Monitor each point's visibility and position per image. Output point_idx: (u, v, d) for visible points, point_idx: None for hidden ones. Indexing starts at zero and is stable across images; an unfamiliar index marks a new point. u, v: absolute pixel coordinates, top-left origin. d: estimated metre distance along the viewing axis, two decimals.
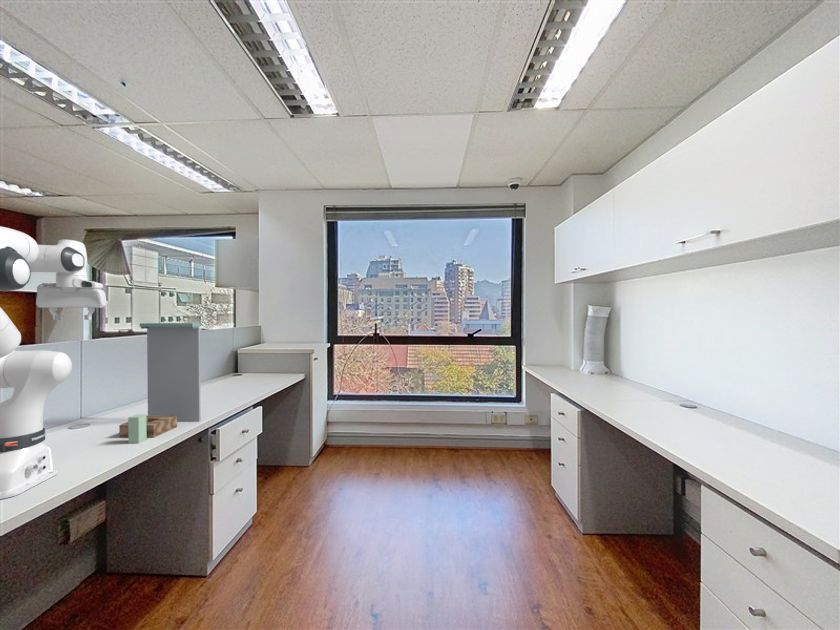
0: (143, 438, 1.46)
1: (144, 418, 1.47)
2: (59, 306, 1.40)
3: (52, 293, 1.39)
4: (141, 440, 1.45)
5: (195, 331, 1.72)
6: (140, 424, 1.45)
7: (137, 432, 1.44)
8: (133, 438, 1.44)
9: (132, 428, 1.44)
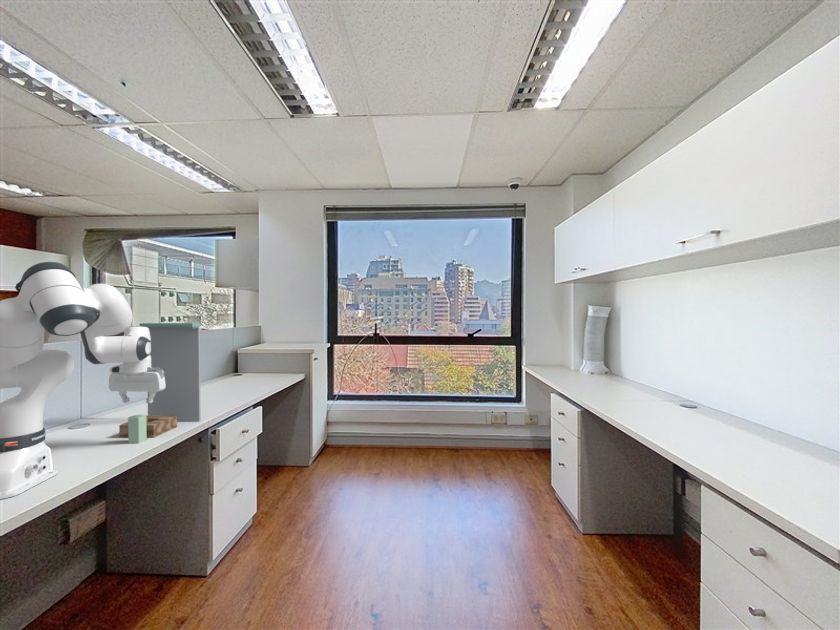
0: (143, 438, 1.46)
1: (144, 418, 1.47)
2: None
3: None
4: (141, 440, 1.45)
5: (195, 331, 1.72)
6: (140, 424, 1.45)
7: (137, 432, 1.44)
8: (133, 438, 1.44)
9: (132, 428, 1.44)
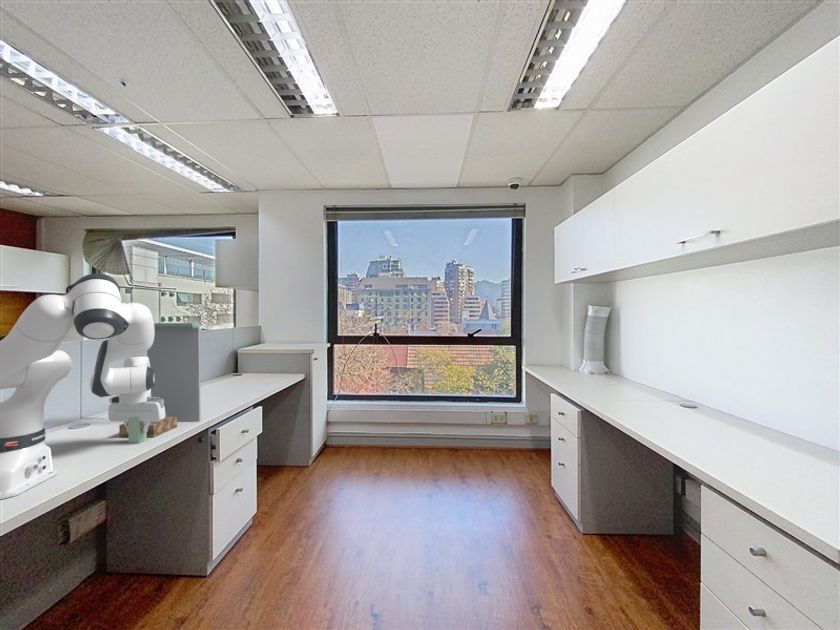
0: (143, 438, 1.46)
1: None
2: None
3: None
4: (141, 440, 1.45)
5: (195, 331, 1.72)
6: (140, 424, 1.45)
7: (137, 432, 1.44)
8: (133, 438, 1.44)
9: (132, 428, 1.44)
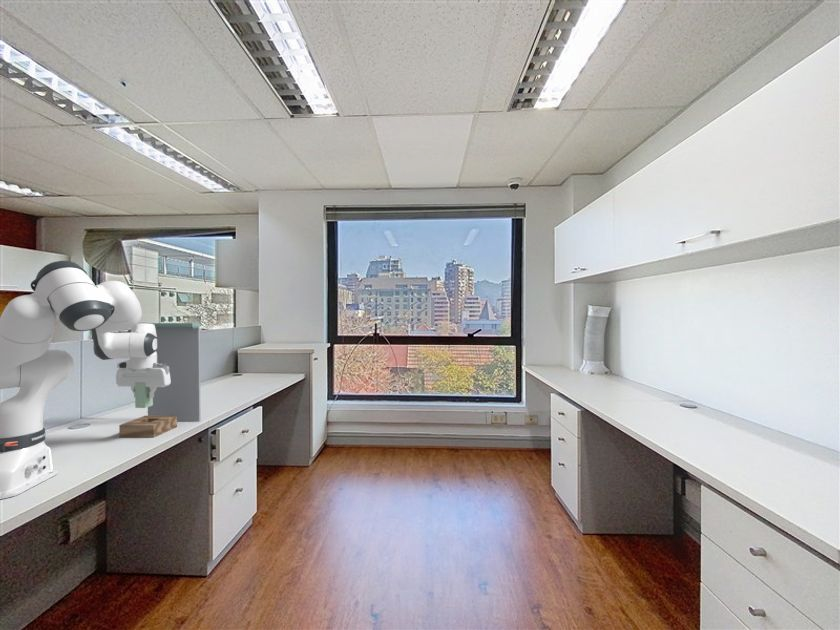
0: (149, 404, 1.50)
1: None
2: None
3: None
4: (147, 405, 1.49)
5: (195, 331, 1.72)
6: (146, 389, 1.49)
7: (143, 397, 1.48)
8: (140, 402, 1.48)
9: (139, 393, 1.48)
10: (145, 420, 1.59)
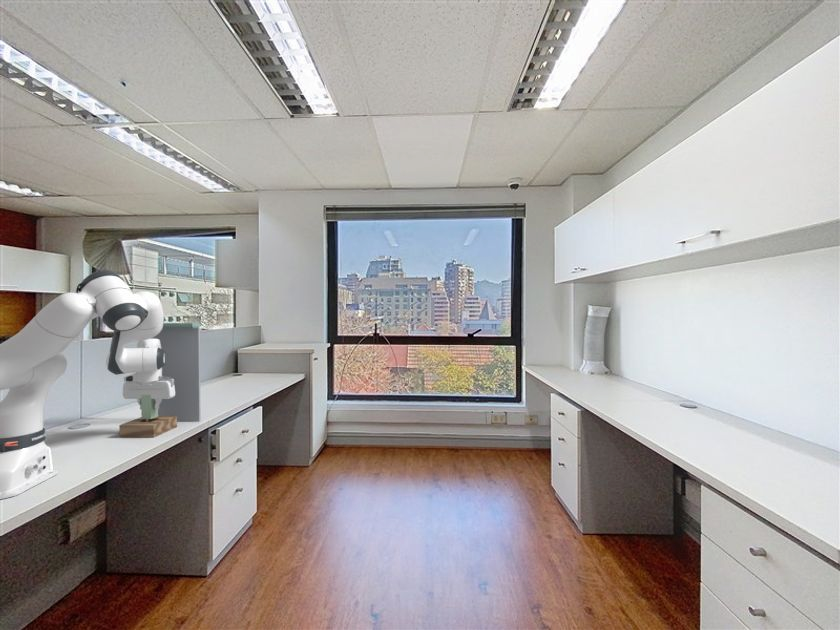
0: (154, 415, 1.58)
1: None
2: None
3: None
4: (153, 416, 1.57)
5: (195, 331, 1.72)
6: (152, 401, 1.56)
7: (149, 408, 1.56)
8: (146, 414, 1.56)
9: (145, 404, 1.56)
10: (145, 420, 1.59)
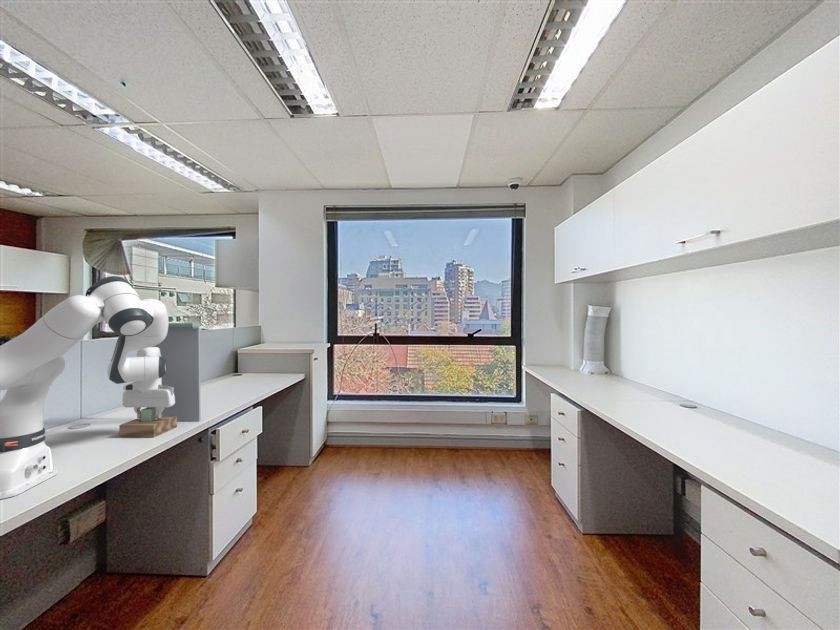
0: None
1: (155, 410, 1.59)
2: None
3: None
4: None
5: (195, 331, 1.72)
6: (152, 416, 1.57)
7: None
8: None
9: (145, 419, 1.56)
10: None
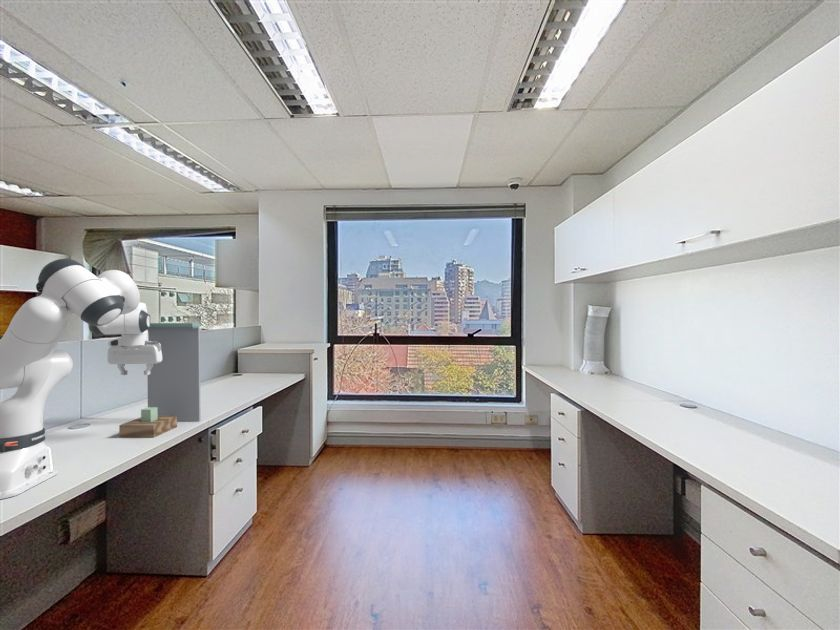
0: None
1: (155, 410, 1.59)
2: None
3: None
4: None
5: (195, 331, 1.72)
6: (152, 416, 1.57)
7: None
8: None
9: (145, 419, 1.56)
10: None
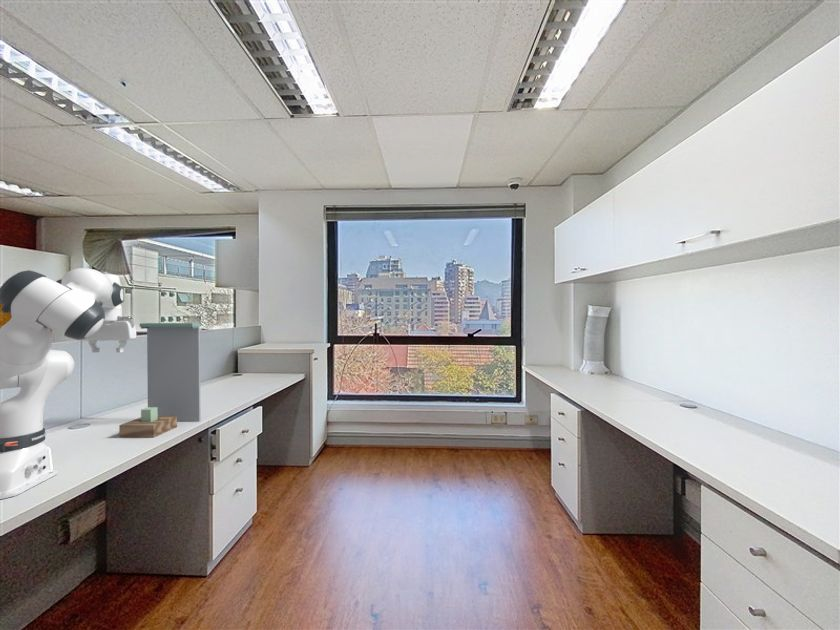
0: None
1: (155, 410, 1.59)
2: None
3: None
4: None
5: (195, 331, 1.72)
6: (152, 416, 1.57)
7: None
8: None
9: (145, 419, 1.56)
10: None
